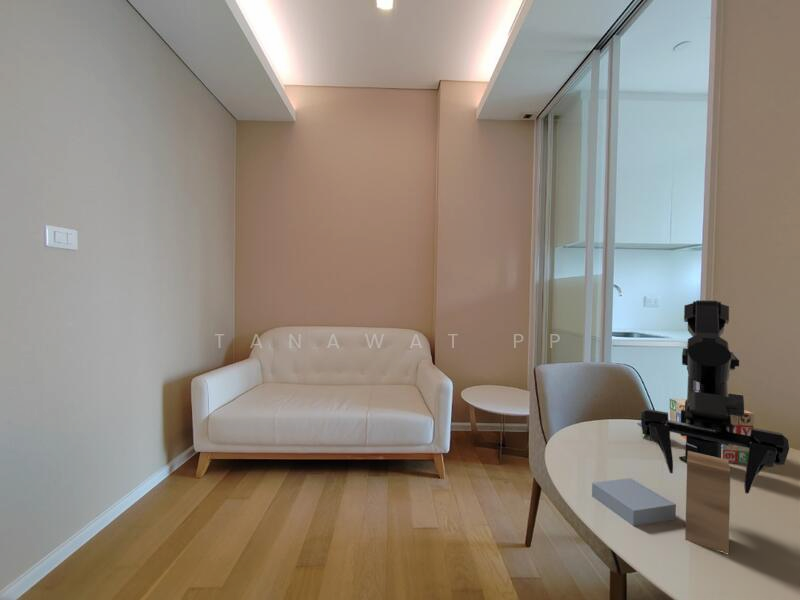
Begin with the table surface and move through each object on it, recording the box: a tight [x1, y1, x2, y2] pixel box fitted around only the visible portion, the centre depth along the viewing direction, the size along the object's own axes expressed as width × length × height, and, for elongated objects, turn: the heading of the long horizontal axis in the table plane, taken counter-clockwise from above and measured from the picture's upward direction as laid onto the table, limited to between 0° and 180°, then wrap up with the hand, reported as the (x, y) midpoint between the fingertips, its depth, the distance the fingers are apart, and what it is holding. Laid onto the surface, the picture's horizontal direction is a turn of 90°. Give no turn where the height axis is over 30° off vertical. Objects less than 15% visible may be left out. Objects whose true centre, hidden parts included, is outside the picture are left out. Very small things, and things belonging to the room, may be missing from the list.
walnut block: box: [684, 451, 731, 555], centre depth 56 cm, size 5×5×12 cm
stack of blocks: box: [669, 398, 755, 464], centre depth 93 cm, size 21×6×12 cm, turn 171°
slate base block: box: [591, 477, 677, 527], centre depth 64 cm, size 9×9×3 cm
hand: (707, 481), depth 57 cm, fingers open, 9 cm apart
